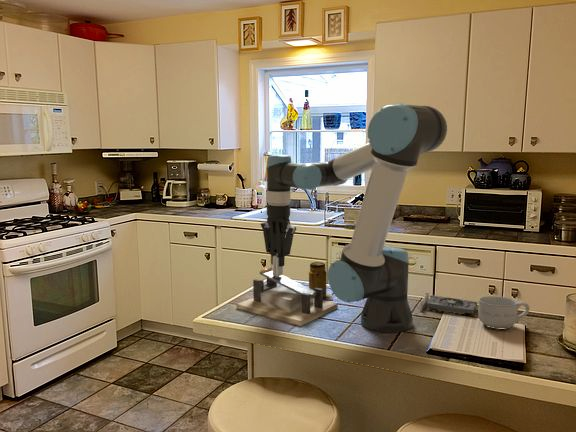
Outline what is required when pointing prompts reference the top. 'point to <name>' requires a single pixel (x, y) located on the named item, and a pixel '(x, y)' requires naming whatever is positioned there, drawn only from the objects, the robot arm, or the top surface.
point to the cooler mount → (285, 303)
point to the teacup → (500, 311)
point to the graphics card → (448, 304)
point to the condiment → (318, 278)
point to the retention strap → (288, 283)
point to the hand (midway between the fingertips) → (277, 275)
